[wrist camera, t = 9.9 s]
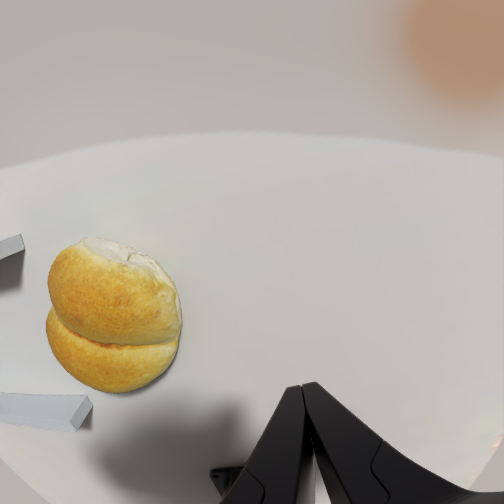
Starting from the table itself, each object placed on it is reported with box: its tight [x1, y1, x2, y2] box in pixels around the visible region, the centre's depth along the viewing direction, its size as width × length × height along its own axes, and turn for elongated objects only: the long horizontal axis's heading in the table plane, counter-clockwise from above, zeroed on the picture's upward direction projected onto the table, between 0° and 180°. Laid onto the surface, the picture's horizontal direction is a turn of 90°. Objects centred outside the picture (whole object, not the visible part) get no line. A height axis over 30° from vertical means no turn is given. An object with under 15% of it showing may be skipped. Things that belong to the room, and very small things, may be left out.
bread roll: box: [46, 238, 182, 393], centre depth 16 cm, size 8×9×4 cm
